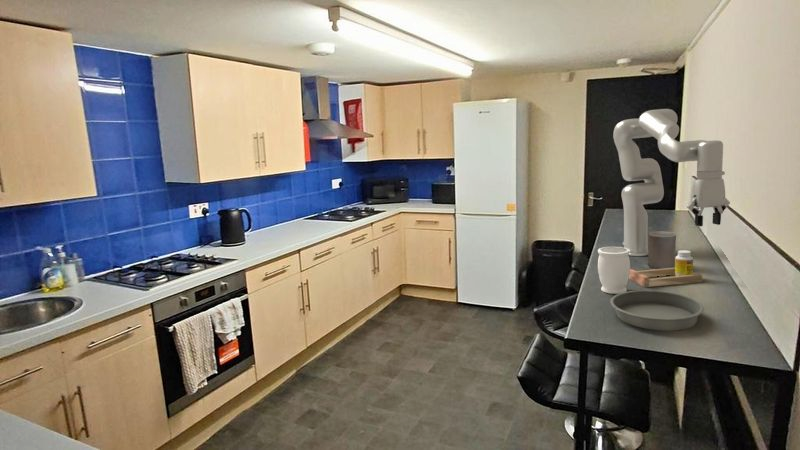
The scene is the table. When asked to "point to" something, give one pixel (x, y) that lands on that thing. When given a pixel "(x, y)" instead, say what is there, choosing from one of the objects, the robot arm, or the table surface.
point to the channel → (644, 275)
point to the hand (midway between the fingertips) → (707, 224)
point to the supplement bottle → (683, 263)
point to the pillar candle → (661, 249)
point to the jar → (613, 269)
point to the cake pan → (657, 309)
